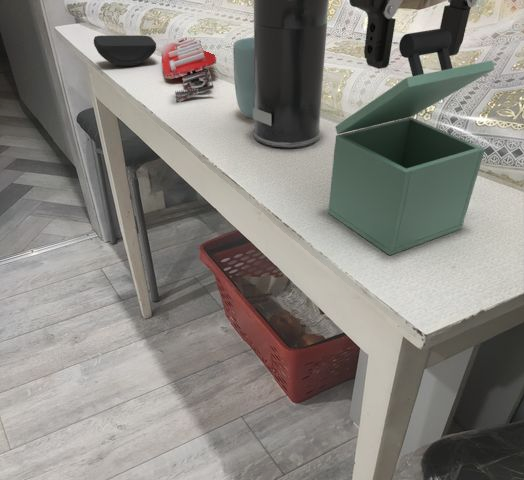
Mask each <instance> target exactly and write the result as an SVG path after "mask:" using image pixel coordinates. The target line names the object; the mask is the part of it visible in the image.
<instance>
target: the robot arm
mask: <svg viewBox="0 0 524 480" xmlns="http://www.w3.org/2000/svg"><path fill="white" fill-rule="evenodd" d="M348 1H349V4H350V6H351V7H354V8H356V9H359V10H361V11H363V12H365V14H366V16H367V24H366V32H365V33H366V34H365V41H364V49H363V55H364V59H365V62H366V65H368V66H369V67H373V68H375V69H378V70H379V69H387V68H388V67H389V64H390V59H391V53H392V46H393V39H394V34H395V33H394V32H395V26H396V21H397V18H394V16H395V15H396V13H397V12H398V9H400V6H402V3H403V1H404V0H348ZM329 2H330V0H253V37H254V97H255V106H254V108H253V119H252V120H254V129H253V137H254V139H255V140H256V141H257V142H259V143H261V144H264V145H266V146H270V147H274V148H275V147H276V148H285V149H286V148H289V149H291V148H300V147H306V146H309V145H312V144H314V143H315V142H317V141H318V140H319V139H320V132H321V131H320V122H321V121H320V120H321V109H322V95H323V84H324V82H323V81H324V69H325V58H326V57H325V56H326V46H327V45H326V42H327V30H328V14H329V13H328V12H329ZM447 2H448V3H449V4H446V5H444V7H443V12H442V16H441V21H440V26H439V29H441V28H447V29H448V30H449V31H450V33H451V37H452V39H451V44H450V46H449V48H448V51H449V55H450V57H451V56H453V57H454V56H456V55H458V53H459V51H460V48H461V46H462V44H463V41H464V37H465V34H466V28H467V24H468V21H469V16H470V12H471V9H472V8H473V7H474V6H475V5H477V2H478V0H447Z"/></svg>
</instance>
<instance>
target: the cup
mask: <svg viewBox="0 0 524 480" xmlns="http://www.w3.org/2000/svg"><path fill="white" fill-rule="evenodd" d="M232 48H233V49H232V54H233V55H232V56H233V57H232V58H233V79H234V90H235V91H234V92H235V96H236V97H235V98H236V102H237V106H238V108H239V111H240V112H241V113H242V114H243V115H244V116H245V117H247V118H248V119H252V120H254V119H253V108H254V106H255V97H254V36H252V37H245V38H240V39H238V40H236V41H234V42H233V47H232Z"/></svg>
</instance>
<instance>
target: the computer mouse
mask: <svg viewBox="0 0 524 480" xmlns="http://www.w3.org/2000/svg"><path fill="white" fill-rule="evenodd" d="M93 45H94V47H95V49H96V52H97V53H98V54H99V55H100V56H101V58H103V59H104V60H105V61H107V62H109V63H110V64H113V65H116V66H119V67H134V66H138V65H140V64H142V63H144V62H145V61H147V60H148V59H149V58H150V57H152V56H153V55H154V53H155V52H156V50H157V43H156V41H155V40H154V39H153V37H152V36H150V35H142V34H141V35H96V36H94V38H93Z"/></svg>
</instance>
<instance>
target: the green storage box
mask: <svg viewBox="0 0 524 480" xmlns="http://www.w3.org/2000/svg"><path fill="white" fill-rule="evenodd" d="M485 151H486V148H484V147H482V146H479V145H477V144H474V143H473V142H470V141H468V140H465V139H463V138H460V137H458V136H455V135H454V134H452V133H448V132H446V131H444V130H442V129H439V128H437V127H435V126H433V125H430V124H428V123H425V122H422V121H421V120H419V119H416V118H414V117H408V118H404V119H399V120H395V121H391V122H387V123H383V124H379V125H374V126H370V127H366V128H362V129H358V130H354V131H349V132H345V133H341V134H336V135H335V141H334V150H333V159H332V160H333V161H332V170H331V171H332V172H331V180H330V181H331V182H330V191H329V203H328V214H329V215H330V216H332V217H333V218H334V219H336V220H337V221H339V222H341V224H343V225H345V226H346V227H348V228H349V229H351V230H352V231H354V233H356V234H358V235H359V236H361V237H362V238H363V239H365V240H366V241H367V242H369V243H371V244H372V245H374V246H375V247H377V248H378V249H380V250H381V251H382V252H384V253H385V254H386V255H389V256H392V255H394V254H397V253H400V252H403V251H405V250H407V249H408V250H409V249H411V248H413V247H416V246H418V245H421V244H424V243H427V242H429V241H432V240H435V239H438V238H440V237H443V236H446V235H449V234H451V233H453V232H456V231H459V230H461V229H462V228H463V225H464V222H465V218H466V214H467V211H468V208H469V204H470V202H471V198H472V194H473V191H474V187H475V184H476V181H477V178H478V175H479V172H480V168H481V164H482V161H483V157H484V154H485Z"/></svg>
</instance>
